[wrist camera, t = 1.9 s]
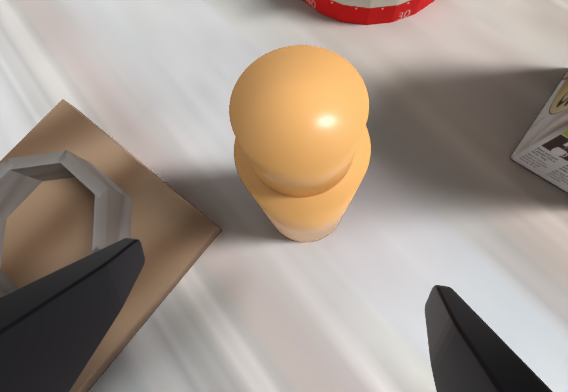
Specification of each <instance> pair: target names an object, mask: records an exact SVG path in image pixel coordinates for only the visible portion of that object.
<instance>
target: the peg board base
mask: <svg viewBox="0 0 568 392" xmlns="http://www.w3.org/2000/svg"><path fill="white" fill-rule="evenodd" d="M220 232H221V229H220V228H218V227H217V226H216V225H215V224H214V223H212V222H211V221H210V220H209V219H208V218H206V217H205V216H204V215H203V214H202V213H201V212H199V211H198V210H197V209H196V208H195V207H193V206H192V205H191V204H190V203H189V202H187V201H186V200H185V199H184V198H183V197H181V196H180V195H179V194H178V193H177V192H175V191H174V190H173V189H172V188H171V187H169V186H168V185H167V184H166V183H165V182H163V181H162V180H161V179H160V178H159V177H158V176H156V175H155V174H154V173H153V172H152V171H150V170H149V169H148V168H147V167H146V166H144V165H143V164H142V163H141V162H140V161H138V160H137V159H136V158H135V157H134V156H132V155H131V154H130V153H129V152H128V151H126V150H125V149H124V148H123V147H122V146H121V145H119V144H118V143H117V142H116V141H115V140H113V139H112V138H111V137H110V136H109V135H107V134H106V133H105V132H104V131H103V130H101V129H100V128H99V127H98V126H97V125H95V124H94V123H93V122H92V121H91V120H89V119H88V118H87V117H86V116H85V115H83V114H82V113H81V112H80V111H79V110H78V109H76V108H75V107H73V106H72V105H71V104H69V103H68V102H66V101H65V100H63V99H62V100H61V101H60V102H59V103H58V104H57V105H56V106H55V107H54V108H53V109H52V110H51V111H50V112H49V113H48V114H47V115H46V116H45V117H44V118H43V119H42V120H41V121H40V122H39V123H38V124H37V125H36V126H35V127H34V128H33V129H32V130H31V131H30V132H29V133H28V134H27V135H26V136H25V137H24V138H23V139H22V140H21V141H20V142H19V143H18V144H17V145H16V146H15V147H14V148H13V149H12V150H11V151H10V152H9V153H8V154H7V155H6V156H5V157H4V158H3V159H2V160H1V161H0V297H2V296H4V295H6V294H8V293H10V292H12V291H14V290H17V289H19V288H21V287H23V286H25V285H27V284H29V283H31V282H33V281H35V280H38V279H40V278H42V277H44V276H46V275H48V274H50V273H52V272H54V271H57V270H59V269H61V268H63V267H65V266H67V265H69V264H71V263H73V262H75V261H78V260H80V259H82V258H84V257H86V256H88V255H90V254H92V253H94V252H97V251H99V250H101V249H103V248H105V247H107V246H109V245H111V244H113V243H115V242H118V241H120V240H122V239H124V238H135V239H139V240H140V241H141V244H142V248H143V252H144V256H145V264H144V266H143V268H142V270H141V272H140V274H139V276H138V278H137V280H136V282H135V284H134V286H133V288H132V290H131V292H130V294H129V296H128V298H127V300H126V302H125V304H124V306H123V308H122V309H121V311H120V313H119V314H118V316H117V318H116V319H115V321H114V322H113V324H112V325H111V327H110V329H109V330H108V332H107V333H106V335H105V337H104V338H103V340H102V341H101V343H100V344H99V346H98V348H97V349H96V351H95V352H94V354H93V355H92V357H91V359H90V360H89V362H88V363H87V365H86V367H85V368H84V370H83V371H82V373H81V374H80V376H79V378H78V379H77V381H76V382H75V384H74V385H73V387H72V389H71V390H70V392H88V390H89V389H90V388H91V387H92V386H93V384H94V383H95V382H96V381H97V380H98V378H99V377H100V376H101V375H102V374H103V372H104V371H105V370H106V369H107V368H108V366H109V365H110V364H111V363H112V362H113V360H114V359H115V358H116V357H117V356H118V354H119V353H120V352H121V351H122V350H123V348H124V347H125V346H126V345H127V344H128V342H129V341H130V340H131V339H132V338H133V336H134V335H135V334H136V333H137V332H138V330H139V329H140V328H141V327H142V326H143V324H144V323H145V322H146V321H147V320H148V318H149V317H150V316H151V315H152V313H153V312H154V311H155V310H156V309H157V307H158V306H159V305H160V304H161V303H162V301H163V300H164V299H165V298H166V297H167V295H168V294H169V293H170V292H171V291H172V289H173V288H174V287H175V286H176V285H177V283H178V282H179V281H180V280H181V279H182V277H183V276H184V275H185V274H186V273H187V271H188V270H189V269H190V268H191V267H192V265H193V264H194V263H195V262H196V261H197V259H198V258H199V257H200V256H201V255H202V253H203V252H204V251H205V250H206V249H207V247H208V246H209V245H210V244H211V242H212V241H213V240H214V239H215V238H216V236H217V235H218V234H219V233H220Z"/></svg>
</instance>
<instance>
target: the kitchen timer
mask: <svg viewBox="0 0 568 392" xmlns="http://www.w3.org/2000/svg"><path fill="white" fill-rule="evenodd" d="M303 1H305V2H306V3H307V4H309V5H310V6H311V7H313V8H314V9H315V10H317V11H318V12H319V13H321V14H323V15H326V16H328V17H331V18H334V19H336V20H339V21H341V22H347V23H355V24H363V25H371V24H380V23H390V22H394V21H397V20H400V19H402V18H405V17H408V16H411V15H414V14H416V13H417V12H419V11H420V10H422V9H423V8H424V7H426V6H427V5H429V4H430V3H432V2H433V1H434V0H303Z"/></svg>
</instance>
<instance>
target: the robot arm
mask: <svg viewBox="0 0 568 392" xmlns="http://www.w3.org/2000/svg"><path fill="white" fill-rule="evenodd" d="M144 264H145V256H144V252H143V248H142V244H141V241H140V240H139V239H135V238H124V239H122V240H120V241H118V242H115V243H113V244H111V245H109V246H107V247H105V248H103V249H101V250H99V251H97V252H94V253H92V254H90V255H88V256H86V257H84V258H82V259H80V260H78V261H75V262H73V263H71V264H69V265H67V266H65V267H63V268H61V269H59V270H57V271H54V272H52V273H50V274H48V275H46V276H44V277H42V278H40V279H38V280H35V281H33V282H31V283H29V284H27V285H25V286H23V287H21V288H19V289H17V290H14V291H12V292H10V293H8V294H6V295H4V296H2V297H0V392H70V390H71V389H72V387H73V385H74V384H75V382H76V381H77V379H78V378H79V376H80V374H81V373H82V371H83V370H84V368H85V367H86V365H87V363H88V362H89V360H90V359H91V357H92V355H93V354H94V352H95V351H96V349H97V348H98V346H99V344H100V343H101V341H102V340H103V338H104V337H105V335H106V333H107V332H108V330H109V329H110V327H111V325H112V324H113V322H114V321H115V319H116V318H117V316H118V314H119V313H120V311H121V309H122V308H123V306H124V304H125V302H126V300H127V298H128V296H129V294H130V292H131V290H132V288H133V286H134V284H135V282H136V280H137V278H138V276H139V274H140V272H141V270H142V268H143V266H144ZM425 317H426V326H427V335H428V344H429V353H430V361H431V367H432V372H433V377H434V381H435V386H436V390H437V392H552V391H551V390H550V389H549V388H548V386H547V385H546V384H545V383H544V382H543V381H542V380H541V379H540V378H539V377H538V376H537V375H536V374H535V373H534V372H533V371H532V370H531V369H530V368H529V367H528V366H527V365H526V364H525V363H524V362H523V361H522V360H521V359H520V358H519V357H518V356H517V355H516V354H515V353H514V352H513V351H512V350H511V349H510V348H509V347H508V346H507V345H506V343H505V342H504V341H503V340H502V339H501V338H500V337H499V336H498V335H497V334H496V333H495V332H494V331H493V330H492V329H491V328H490V327H489V326H488V325H487V324H486V323H485V322H484V321H483V320H482V319H481V318H480V317H479V316H478V315H477V314H476V313H475V312H474V311H473V310H472V309H471V308H470V307H469V306H468V305H467V304H466V303H465V301H464V300H463V299H462V298H461V297H460V296H459V295H458V294H457V293H456V292H455V291H454V290H453V289H452V288H450V287H447V286H440V285H435V286H434V287H433V288H432V290H431V293H430V295H429V297H428V300H427V302H426V305H425Z"/></svg>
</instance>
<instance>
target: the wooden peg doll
mask: <svg viewBox="0 0 568 392" xmlns="http://www.w3.org/2000/svg"><path fill="white" fill-rule="evenodd" d="M368 114H369V98H368V92H367V89H366V86H365V83H364V81H363V79H362V77H361V76H360V74H359V73H358V71H357V70H356V69H355V68H354V67H353V65H351V64H350V63H349V62H348V61H347V60H346V59H344V58H343V57H341V56H340V55H338V54H336V53H334V52H332V51H330V50H327V49H324V48H320V47H316V46H308V45H296V46H288V47H283V48H280V49H277V50H274V51H271V52H269V53H267V54H265V55H263V56H262V57H260V58H258V59H257V60H256V61H254V62H253V63H252V64H251V65H250V66H249V67H248V68H247V69H246V70H245V71H244V72H243V73H242V75H241V76H240V77H239V79H238V81H237V82H236V84H235V87H234V89H233V91H232V95H231V98H230V105H229V115H230V122H231V126H232V129H233V132H234V134H235V136H236V138H235V144H234V159H235V165H236V168H237V172H238V174H239V176H240V179H241V180H242V182H243V184H244V185H245V187H246V188H247V189H248V191H249V192H250V194H251V195H252V196H253V198H254V199H255V200H256V202H257V203H258V204H259V206H260V207H261V208H262V210H263V211H264V212H265V214H266V215H267V216H268V218H269V219H270V220H271V222H272V223H273V225H274V226H275V227H276V228H277V230H278V231H279V232H280V233H281V234H283V235H284V236H286V237H287V238H289V239H291V240H294V241H298V242H313V241H317V240H320V239H322V238H324V237H326V236H328V235H329V234H330V233H331V232H332V231H333V230H334V229H335V228H336V227H337V225H338V224H339V222H340V220H341V218H342V216H343V215H344V213H345V211H346V209H347V207H348V205H349V203H350V202H351V200H352V198H353V196H354V194H355V192H356V191H357V189H358V187H359V185H360V183H361V181H362V179H363V177H364V175H365V173H366V171H367V168H368V165H369V161H370V155H371V144H370V137H369V133H368V129H367V127H366V122H367V119H368Z"/></svg>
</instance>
